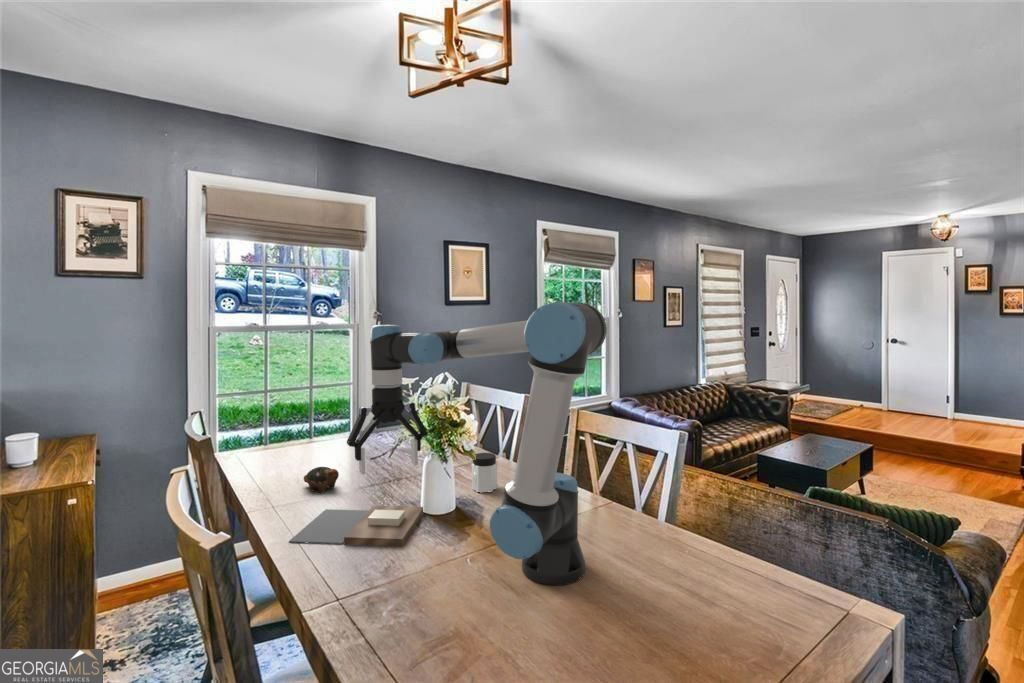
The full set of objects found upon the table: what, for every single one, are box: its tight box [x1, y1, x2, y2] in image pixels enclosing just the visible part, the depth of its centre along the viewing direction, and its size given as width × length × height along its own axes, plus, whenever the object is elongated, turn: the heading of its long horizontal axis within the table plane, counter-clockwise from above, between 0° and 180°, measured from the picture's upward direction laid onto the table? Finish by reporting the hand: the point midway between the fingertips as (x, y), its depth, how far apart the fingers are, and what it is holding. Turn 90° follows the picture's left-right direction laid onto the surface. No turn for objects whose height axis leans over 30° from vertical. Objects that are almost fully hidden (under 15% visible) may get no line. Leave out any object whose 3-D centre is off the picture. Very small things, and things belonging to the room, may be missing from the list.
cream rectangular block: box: [368, 510, 405, 526], centre depth 143 cm, size 9×6×2 cm, turn 85°
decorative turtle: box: [303, 466, 340, 493], centre depth 176 cm, size 10×15×8 cm, turn 71°
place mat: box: [288, 508, 370, 545], centre depth 145 cm, size 15×22×1 cm
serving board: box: [343, 505, 424, 547], centre depth 143 cm, size 16×22×2 cm
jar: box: [471, 452, 498, 492], centre depth 174 cm, size 9×8×12 cm
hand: (389, 468), depth 127 cm, fingers open, 13 cm apart
